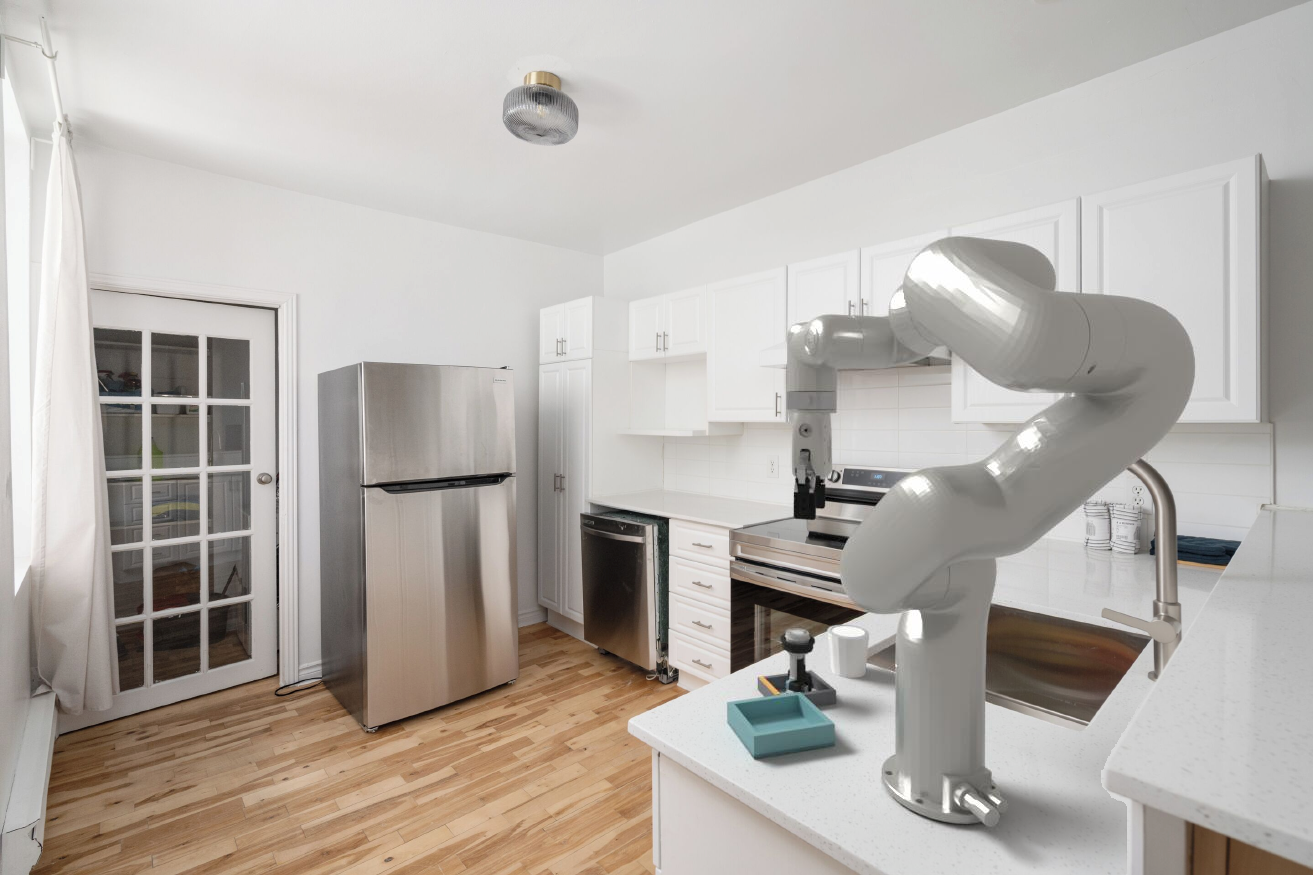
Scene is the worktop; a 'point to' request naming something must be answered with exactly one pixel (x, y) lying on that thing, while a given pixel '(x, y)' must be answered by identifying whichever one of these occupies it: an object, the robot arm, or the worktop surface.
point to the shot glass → (848, 650)
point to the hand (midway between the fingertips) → (809, 513)
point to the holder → (819, 697)
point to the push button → (797, 659)
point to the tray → (780, 725)
